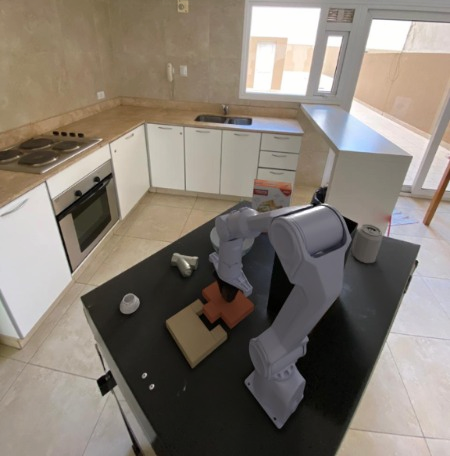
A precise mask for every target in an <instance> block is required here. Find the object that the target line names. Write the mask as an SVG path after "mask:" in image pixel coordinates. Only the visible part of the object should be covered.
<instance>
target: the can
mask: <svg viewBox="0 0 450 456" xmlns="http://www.w3.org/2000/svg"><path fill="white" fill-rule="evenodd" d="M382 232H383V231H382V230H381V229H380V228H379V227H378V226H376V225H373V224H371V223H363V224H361V226H360V227H358V228H357V232H356V236H355V239H354V242H353V247H352V250H351V253H352V255H353V256H354V257H355V259H356V260H358V261H359V262H361V263H365V264H372V263H374V262H376V260H377V257H378V255H379V251H380V247H381V245H382V241H383V239H384V235H383V233H382Z"/></svg>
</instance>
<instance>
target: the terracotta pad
mask: <svg viewBox="0 0 450 456" xmlns="http://www.w3.org/2000/svg"><path fill="white" fill-rule="evenodd" d="M201 293H202V297H203V298H204V299H205V300H206V302H207V303H205V304H203V305H204V306H203V314H204V316H205V317H206V318H207V320H208V321H209V322H210V324H213V323H215V322H216V321H217V320H218V319H220V318H221V319H222V321H223V322H224V323H225V324H226V325H227V327H228V328H229V329H230V330H232V329H233V328H234V327H235V326H237V325H238V324H239V323H240V322H241V321H242V320H244V319H245V318H246V317H247V316H248V315H250V314H251V313H252V312H253V311H254V310H255V304H254V303H253V302H252V301H251V300H250V299H249V298H248V296H247V297H245V296H244V295H243V293H244V292H243V291H242V290H241V289H239V291H238V293H237V295H236V297H235V299H234V300H233V301H232V302H230V303H229V302H228V301H227V292H226V289H225V287H224V286H223V287H222V295H221V293H220V290H219V287H218V284H217V281H216V280H215V281H214V282H212V283H211V284H209V285H208V286H205V288H203V289H202V292H201Z"/></svg>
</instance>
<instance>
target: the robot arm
mask: <svg viewBox="0 0 450 456" xmlns="http://www.w3.org/2000/svg"><path fill="white" fill-rule="evenodd" d="M214 224H215V225H214V227H216V231H217V234H218V236H219V254H218V253H217V252H216V251H214V252H212V253H211V254H209V255H208V261H209V263H212V264H213V267H214V269H215V270H214V271H212V276H213V277H214V279H215V282H216V281H217V284H218V287H219V290H220V293H221V295H222V287H223V286H224V287H225V289H226V292H227V301H228V302H229V303H230V302H232V301H233V300H234V299H235V297H236V295H237V293H238V291H239V290H240V291H242V293H243V295H244V296H245V297H247V298H248V297H249V296H250V295H252V293H253V286H252V285H251V284H250V282H249V280H248V279H247V276H246V275H245V273H244V271H243V269H242V268H243V266H244V265H243V263H242V259H243V257H242V248H243V242H244V241H245V239H246V238H254V239H255V238H258V237H259V236H260V235H261V234H262V233H261V232H268V234H267V235H268V241H269V243H270V244H271V245H272V247H273V249H274V250H275V253H276V255H277V257H278V260H279V262H280V263H281V266H282V268H283V271H284V273H285V274H286V276H287V279H288V281H289V283H290V284H292V285H294V286H293V288H292V290H291V291H290V293H289V295H288V296H287V298H286V300H285V302H284V303H283V305H282V307H281V309H280V310H279V312H278V313H277V315H276V316H275V319H274V320H273V322H272V324H271V326H269V327H268V328H267V329H266V330H264V331H263V332H262V333H260V334H259V335H258V336H257V337H252V338H250V340H249V343H248V344H249V345H248V353H249V358H250V360H251V362H252V365H253V368H254V369H253V371H252V372H251V373H250V374H249V375H248V376H247V377H246V378H245V379H244V385H245V386H246V388H247V389H248V390H249V392H250V393H251V395H253V397H254V398H255V399H256V401H257V403H258V404H259V405H260V406H261V408H262V409H263V410H264V411H265V413H266V414H267V415H268V417H269V418H270V419H271V421H272V422H273V424H274V425H275V426H276V428H277V429H282V427H283V426H284V425H285V423H286V422H287V421H288V420H289V418H290V416H291V415H292V414H293V413H294V412H295V411H296V410H297V408H298V406H299V404H300V403H301V401H302V400H303V399H304V390H305V386H306V383H307V382H306V379H305V378H304V377H303V376H302V374H301V372H300V371H299V370H298V368H297V366H296V363H297V362H298V359H300V358H302V357H304V356H305V355H306V354H307V344H308V342H309V341H310V340H309V337H308V335H309V334H310V333H311V331H312V330H313V329H314V328H315V326H316V325H317V324H318V323H319V321H320V320H321V319H322V318H323V316H324V315H325V314H326V312H327V311H328V310H329V309H330V308H331V306H332V305H333V304H334V302H335V301H336V300H337V299H338V298H339V297H340V295H341V293H342V291H343V283H344V270H345V269H344V268H345V256H346V253H347V251H348V248H349V246H350V245H351V243H352V240H353V239H352V236H351V234H350V230H349V229H348V225H347V223H346V220H345V219H344V217H343V215H342V214H341V212H340V211H339V210H338V209H337V208H336V207H334V206H333V205H331V204H328V203H319V204H317V205H315V206H314V204H300V205H293V206H289V207H285V208H280V209H276V210H272V211H268V212H264V213H260V214H259V213H258V212H257V211H256V210H253V209H251V208H248V206H242V207H240V208H238V210H236V209H234V210H231V211H230V212H229V213H226V214H222V215H218V216H217V217H216V218H215V221H214Z"/></svg>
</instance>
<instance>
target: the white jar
mask: <svg viewBox="0 0 450 456" xmlns="http://www.w3.org/2000/svg"><path fill="white" fill-rule="evenodd" d="M140 303H141V302H140V299H139V297H138V296H137V295H135V294H134V293H127V294H126V295H124V296H123V298H122V300H121V302H120V303H119V311H120V312H121V314H124V315H130V314H132V313H134V312H135V311H137V310H138V308H140Z"/></svg>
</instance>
